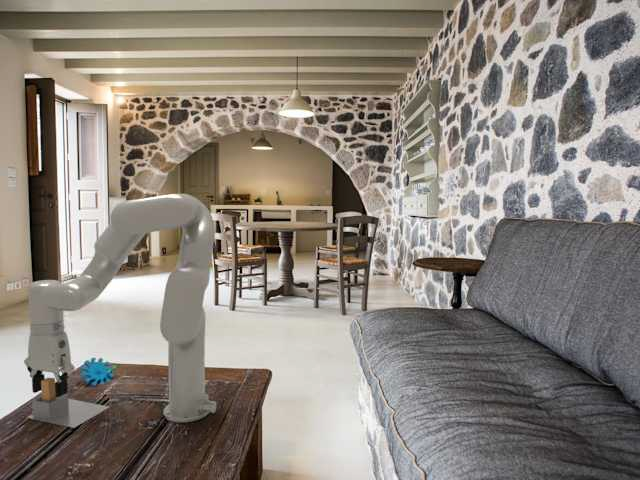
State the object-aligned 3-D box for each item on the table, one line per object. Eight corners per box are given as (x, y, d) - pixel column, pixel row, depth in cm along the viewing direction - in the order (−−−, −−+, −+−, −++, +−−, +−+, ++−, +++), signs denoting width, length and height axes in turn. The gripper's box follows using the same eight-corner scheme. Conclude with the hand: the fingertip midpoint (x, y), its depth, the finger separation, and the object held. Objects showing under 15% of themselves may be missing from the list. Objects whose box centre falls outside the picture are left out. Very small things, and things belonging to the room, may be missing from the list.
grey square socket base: (110, 409, 124) (109, 389, 124) (74, 430, 113) (73, 408, 112) (65, 400, 129) (64, 381, 129) (26, 420, 118) (25, 399, 117)
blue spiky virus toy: (87, 387, 135) (78, 358, 139) (79, 397, 137) (70, 369, 141) (121, 380, 144) (112, 353, 148) (113, 390, 146) (104, 363, 150)
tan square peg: (56, 414, 119) (54, 378, 119) (50, 418, 117) (48, 381, 116) (49, 413, 120) (47, 377, 119) (42, 417, 118) (41, 380, 117)
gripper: (85, 327, 118) (87, 391, 119) (35, 320, 123) (38, 382, 125) (60, 335, 111) (63, 404, 112) (8, 328, 116) (12, 393, 118)
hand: (50, 392), depth 118 cm, fingers open, 7 cm apart
